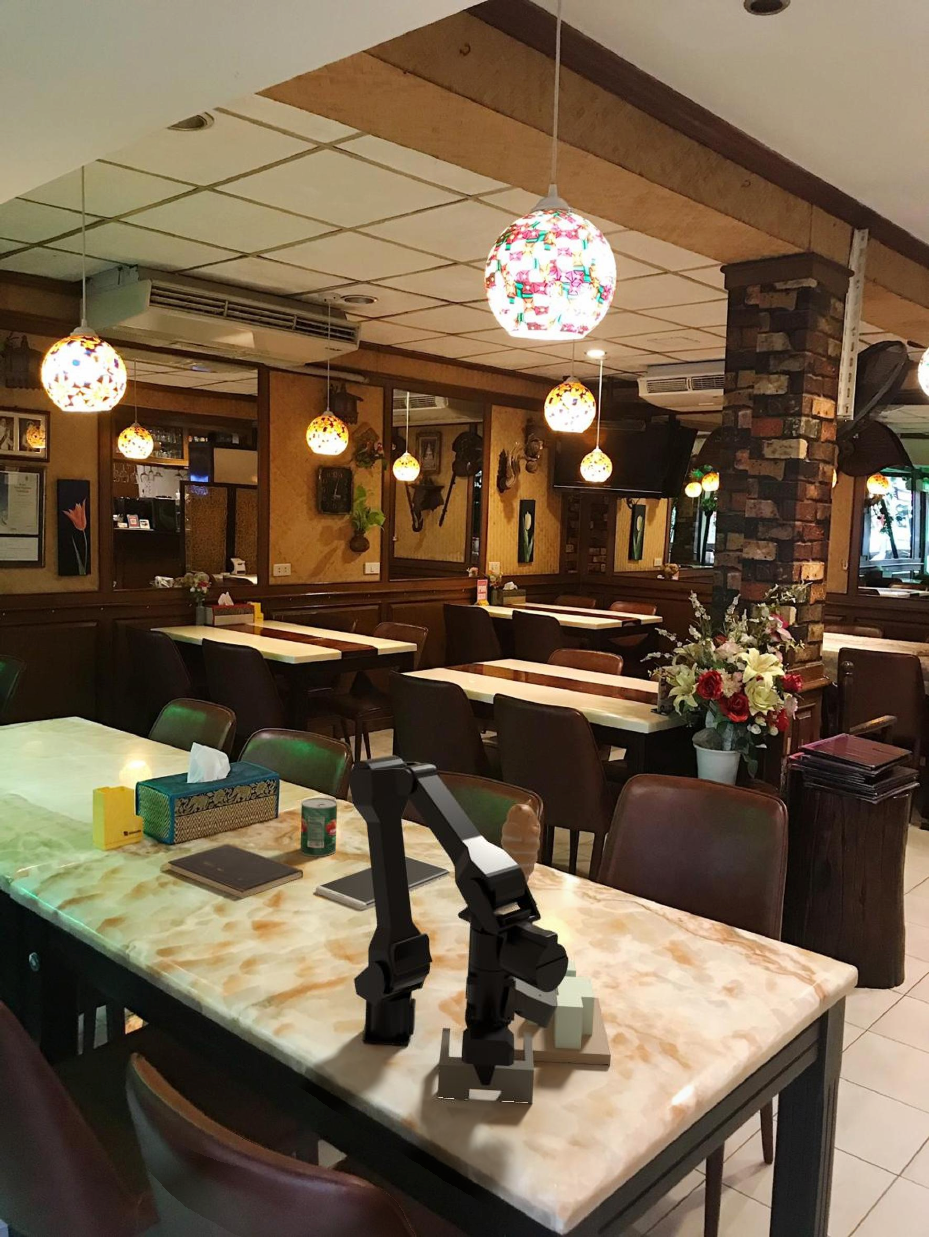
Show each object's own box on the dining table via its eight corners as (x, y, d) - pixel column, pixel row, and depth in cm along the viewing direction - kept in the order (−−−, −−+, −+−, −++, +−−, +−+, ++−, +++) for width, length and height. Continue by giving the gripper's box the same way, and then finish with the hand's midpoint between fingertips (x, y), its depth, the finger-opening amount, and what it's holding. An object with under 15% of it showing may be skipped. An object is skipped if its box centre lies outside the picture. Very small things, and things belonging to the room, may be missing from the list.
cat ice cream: (522, 898, 188) (526, 809, 187) (490, 888, 193) (494, 801, 191) (546, 886, 195) (550, 800, 194) (514, 877, 200) (518, 793, 198)
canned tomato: (295, 847, 213) (297, 799, 212) (330, 843, 217) (331, 796, 216) (305, 858, 206) (306, 808, 205) (340, 854, 209) (342, 805, 208)
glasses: (532, 1103, 120) (534, 1070, 120) (437, 1098, 121) (438, 1064, 120) (529, 1064, 129) (531, 1032, 129) (441, 1059, 130) (442, 1027, 129)
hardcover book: (241, 902, 183) (241, 890, 182) (168, 872, 196) (168, 861, 196) (303, 879, 195) (303, 868, 195) (230, 853, 209) (230, 843, 209)
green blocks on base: (507, 1059, 131) (510, 1006, 130) (506, 1002, 146) (508, 955, 146) (610, 1065, 130) (613, 1012, 129) (597, 1007, 146) (600, 960, 145)
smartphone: (452, 877, 201) (452, 869, 200) (362, 913, 179) (363, 904, 179) (404, 861, 209) (405, 854, 209) (313, 894, 187) (314, 886, 187)
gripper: (560, 1001, 111) (553, 1128, 112) (550, 933, 129) (545, 1044, 131) (464, 995, 111) (458, 1122, 112) (468, 929, 129) (463, 1039, 131)
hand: (485, 1079), depth 121 cm, fingers closed on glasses, 2 cm apart
